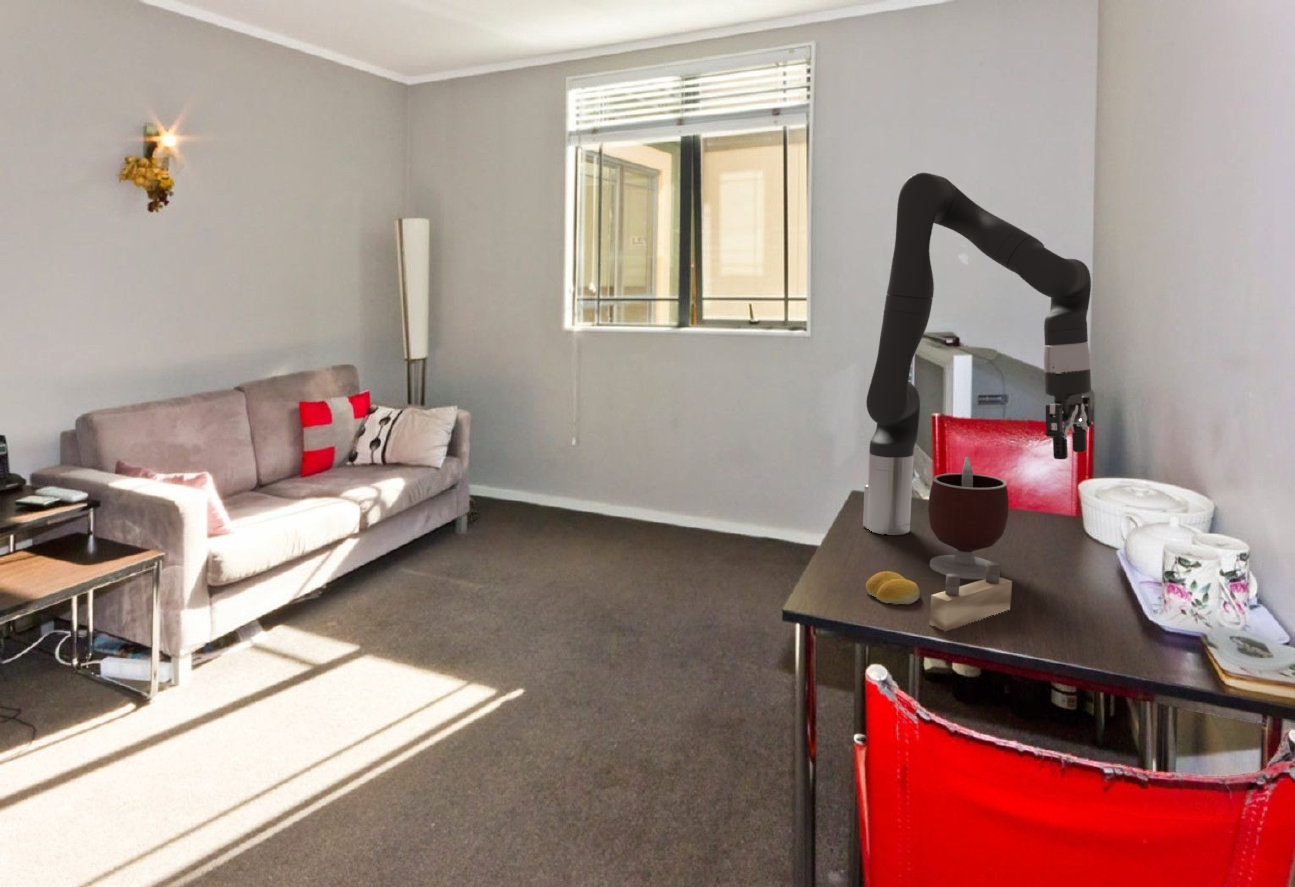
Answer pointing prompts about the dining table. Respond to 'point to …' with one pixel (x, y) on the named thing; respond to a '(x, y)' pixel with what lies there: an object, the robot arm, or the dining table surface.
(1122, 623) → the dining table surface
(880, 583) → the bread roll
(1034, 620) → the dining table surface
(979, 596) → the bar
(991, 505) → the mate gourd
